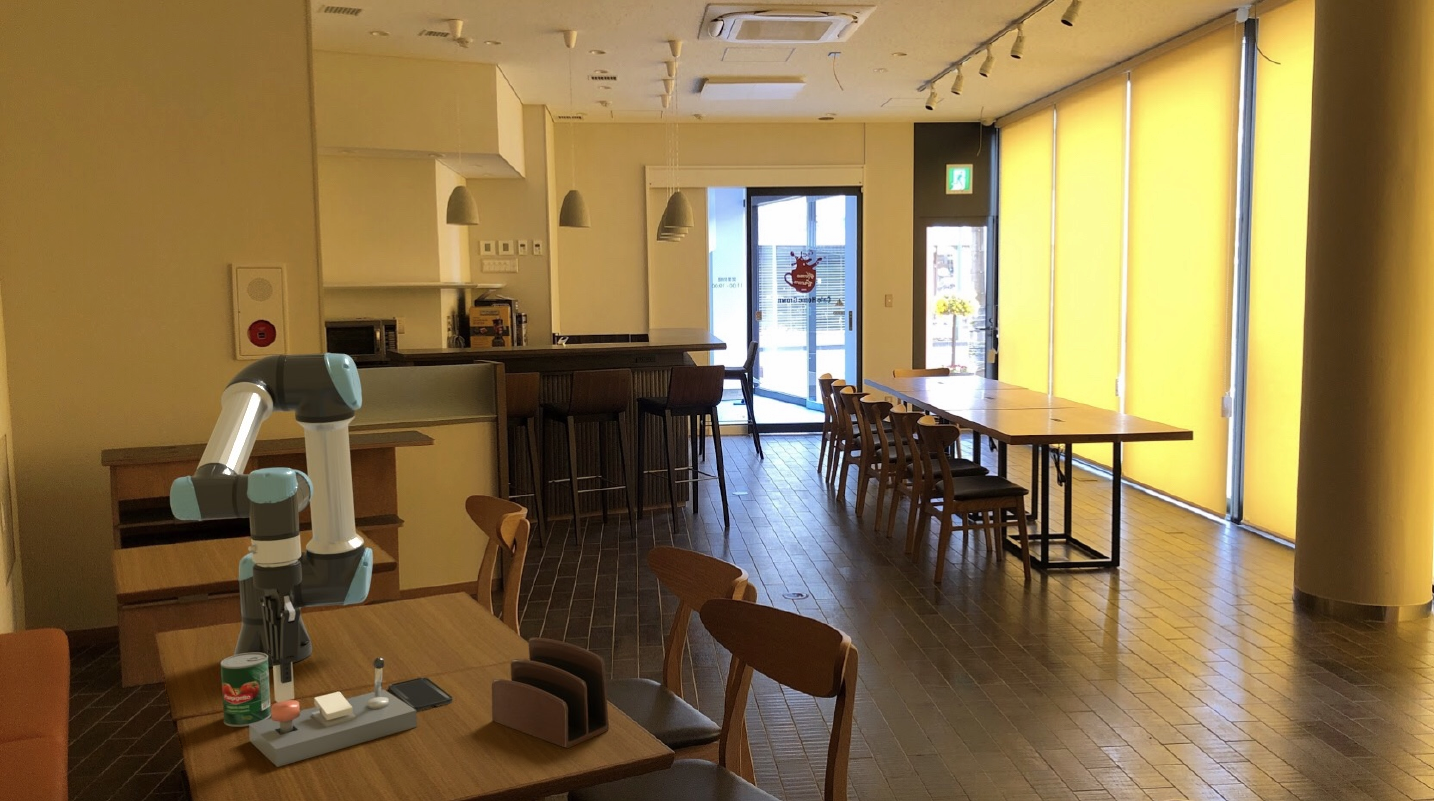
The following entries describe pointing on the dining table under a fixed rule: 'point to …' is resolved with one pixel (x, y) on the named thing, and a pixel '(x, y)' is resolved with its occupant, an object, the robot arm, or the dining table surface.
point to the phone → (420, 693)
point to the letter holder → (554, 694)
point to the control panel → (332, 728)
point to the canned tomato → (245, 689)
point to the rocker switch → (333, 705)
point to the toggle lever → (378, 675)
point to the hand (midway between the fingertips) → (284, 699)
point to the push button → (285, 714)
